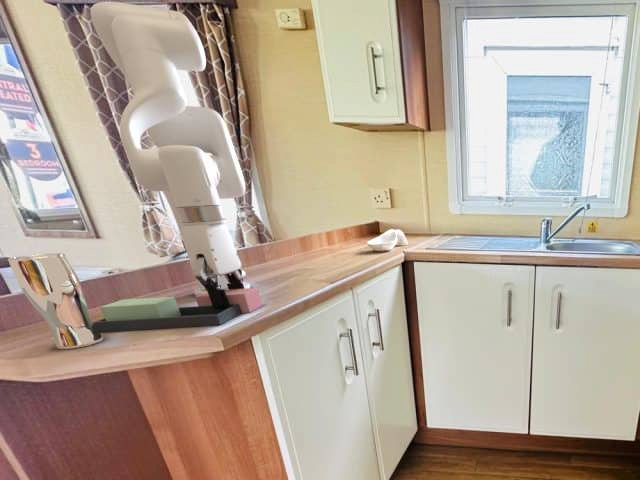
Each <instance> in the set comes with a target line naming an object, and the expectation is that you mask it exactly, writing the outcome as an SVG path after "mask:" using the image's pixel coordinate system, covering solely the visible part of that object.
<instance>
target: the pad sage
mask: <svg viewBox="0 0 640 480" xmlns="http://www.w3.org/2000/svg"><path fill="white" fill-rule="evenodd" d="M178 307H179V305H178V303H177V300H176V298H175V296H163V297H161V296H159V297H144V298H127V299H126V298H125V299H120V300H117V301H114V302H111V303H108V304H105V305H102V306H99V309H100V311H101V313H102V315H103V317H104V318H105V319H106V321H115V320H132V319H149V318H166V317H179V316H181V313H180V310H179V308H178Z"/></svg>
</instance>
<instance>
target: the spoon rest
mask: <svg viewBox="0 0 640 480" xmlns="http://www.w3.org/2000/svg"><path fill="white" fill-rule="evenodd" d="M366 244H367V246H368V247H369V248H370V249H372V250H373V251H375V252H378V253H379V252H380V253H383V252H389V251H392V250H393V248H395V246H396V245H400V246H401V245H402V246H403V245H409V243H408V240H407V237H406V235H405V233H404V231H402V230H401V229H388V230H387V231H385V232H384V233H382V234H380V235H378V236H376V237H375V238H372V239H370V240H369V241H367V242H366Z"/></svg>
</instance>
